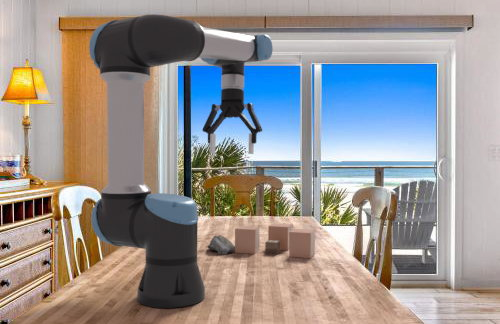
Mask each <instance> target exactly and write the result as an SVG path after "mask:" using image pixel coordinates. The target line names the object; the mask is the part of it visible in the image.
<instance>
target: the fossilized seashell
mask: <svg viewBox="0 0 500 324" xmlns="http://www.w3.org/2000/svg"><path fill="white" fill-rule="evenodd" d="M207 248H208V250H212V251H216V252H217V254H218V255H221V256H222V255H227V254H228V253H231V254H234V253H235V244H233V242H231V240H229V239H228V238H227V237H225V236H223V235H220V234H219V235H214V236H213V237H212V238H211V240H210V243H209V244H208V245H207Z"/></svg>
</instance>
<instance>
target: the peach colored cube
mask: <svg viewBox="0 0 500 324" xmlns="http://www.w3.org/2000/svg"><path fill="white" fill-rule="evenodd" d="M260 228H261V227H260V226H251V225H239V226H237V227H235V228H234V246H235V252H234V253H235V254H254V255H255V254H257V253H258V251H260V237H261V235H260Z"/></svg>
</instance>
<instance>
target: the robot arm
mask: <svg viewBox="0 0 500 324" xmlns="http://www.w3.org/2000/svg"><path fill="white" fill-rule="evenodd" d="M88 46H89V49H88V50H89V55H90V59H91V60H92V61H93V64H94V65H95V67H96V68H97V69H98V70H99V77H100V78H101V79H102V80H103V81H104V82H105V83H106V117H107V119H106V121H107V123H106V126H107V127H106V128H107V133H106V134H107V143H106V144H107V184H106V186H104V188H102V189H101V193H100V195H101V197H100V198H99V199H98V200H97V201H96V203H95V204H94V207H92V210H91V215H90V220H91V221H90V222H91V227H92V230H93V232H94V234H95V235H96V237H97V238H98V239H99V240H100V241H101V242H104V243H106V244H108V245H113V246H115V247H125V248H126V247H127V248H135V249H142V250H143V249H144V250H145V265H144V269H143V272H142V275H141V278H140V280H139V284H138V287H137V302H138V303H140V304H141V305H143V306H146V307H151V308H157V309H158V308H159V309H172V308H174V309H175V308H183V307H187V306H188V307H189V306H192V305H195V304H198V303H201V302H202V301H203V300H204V299H205V297H206V293H205V292H206V289H205V284H204V281H203V278H202V274H201V271H200V268H199V266H198V227H199V226H198V222H199V216H198V206H197V202H195V200H194V199H193V198H191V197H187V196H185V195H180V194H174V193H160V192H157V193H152V189H151V187H149V186H148V185H147V184H146V183H145V96H144V95H145V90H144V89H145V84H146V83H147V81H149V80H150V78H151V67H152V68H153V67H160V66H164V65H168V64H174V63H181V62H193V61H195V60H198V59H201V61H203V62H205V63H206V64H208V65H211V66H214V67H218V68H220V69H221V80H220V81H221V82H220V83H221V85H220V87H221V90H220V91H221V93H220V104H215V103H213V104H211V110H210V112H209V115H208V116H207V119H206V120H205V123H204V125H203V128H202V132H203V133H206V134H207V143H208V144H209V154H211V155H213V154H216V133H215V132H216V131H217V129H218V128H220V127H219V126H220V125H221V124H222V123H223V122H224V120H225V119H227V118H229V119H232V118H236V119H238V118H239V119H240V121H242V122H243V124H244V125H245V126H246V128H247V129H248V130H249V131H250V133H248V155H254V150H255V149H254V145H255V144H257V136H258V135H257V134H258V133H261V132H263V128H262V126H261V123H260V121H259V119H258V118H257V115H256V112H255V109H254V104H253V103H251V102H248V103H244V101H245V90H244V89H245V63H253V62H255V63H256V62H262V61H267V60H269V59H271V58H272V55H273V43H272V39H271V37H270V36H269V35H267V34H263V33H262V34H258V33H257V34H255V35H250V34H244V33H238V32H232V31H226V30H222V29H216V28H211V27H205V26H201V25H200V24H199V23H198V22H196V21H195V20H191V19H186V18H181V17H177V16H171V15H170V16H169V15H165V14H154V13H153V14H144V15H141V16H135V17H128V18H122V19H113V20H110V21H108V22H106V23H103V24H100V25H98V27H97V28H96V29H94V31H93V32H92V35H91V36H90V39H89V45H88ZM220 110H221V112H220V113H219V115H218V112H219V111H220ZM244 110H246V111H248V115H249V116H250V117H249V118H250V119H251V121H252V123H253V124H252V123H251V122H250V120H249V119H248V118H247V116H246V115H245V113H244V112H243V111H244ZM217 115H218V116H217ZM216 116H217V118H216ZM215 118H216V120H215Z"/></svg>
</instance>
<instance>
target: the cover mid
mask: <svg viewBox="0 0 500 324" xmlns="http://www.w3.org/2000/svg"><path fill="white" fill-rule="evenodd" d="M267 226H268V229H267V230H268V231H267V232H268V236H267V237H268V239H267V241H268V240H275V241H280V251H289V232H290V231H292V230H293V229H294V228H293V224H292V223H277V222H275V223H272V224H269V225H267Z"/></svg>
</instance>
